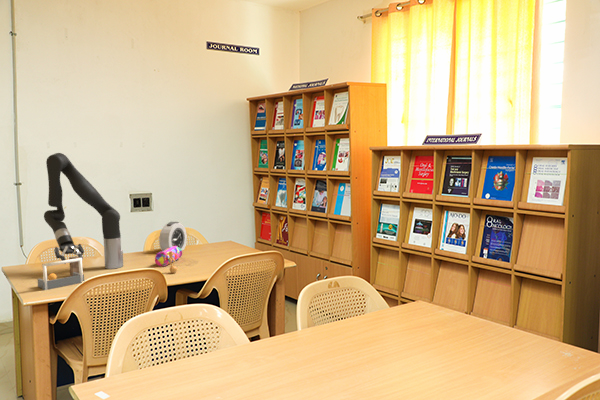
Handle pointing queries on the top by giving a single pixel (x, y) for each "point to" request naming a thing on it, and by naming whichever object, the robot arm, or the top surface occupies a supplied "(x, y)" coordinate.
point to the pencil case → (161, 256)
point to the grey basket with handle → (62, 281)
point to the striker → (74, 266)
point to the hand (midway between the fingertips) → (73, 261)
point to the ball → (52, 276)
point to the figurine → (172, 268)
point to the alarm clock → (173, 236)
